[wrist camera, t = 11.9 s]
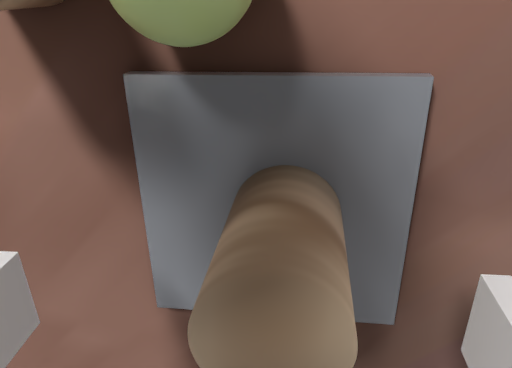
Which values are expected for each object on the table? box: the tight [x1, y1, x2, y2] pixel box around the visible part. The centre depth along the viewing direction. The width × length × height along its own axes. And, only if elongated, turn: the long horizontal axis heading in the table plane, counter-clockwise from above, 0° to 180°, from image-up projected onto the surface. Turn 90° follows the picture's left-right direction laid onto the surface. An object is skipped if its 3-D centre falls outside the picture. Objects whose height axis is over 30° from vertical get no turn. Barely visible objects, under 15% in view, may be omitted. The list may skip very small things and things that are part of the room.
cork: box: [187, 165, 358, 368], centre depth 14 cm, size 4×4×7 cm
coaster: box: [123, 71, 434, 325], centre depth 18 cm, size 11×11×1 cm
